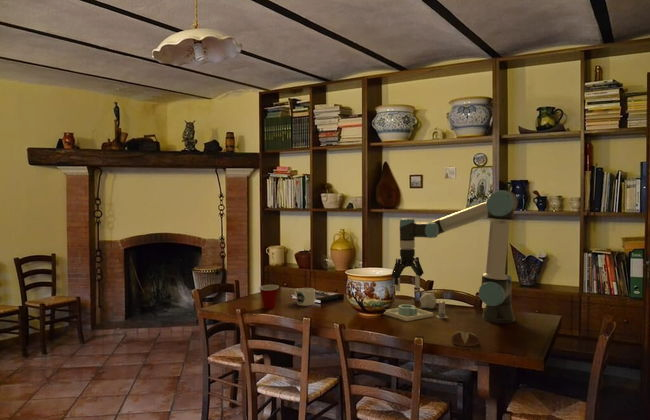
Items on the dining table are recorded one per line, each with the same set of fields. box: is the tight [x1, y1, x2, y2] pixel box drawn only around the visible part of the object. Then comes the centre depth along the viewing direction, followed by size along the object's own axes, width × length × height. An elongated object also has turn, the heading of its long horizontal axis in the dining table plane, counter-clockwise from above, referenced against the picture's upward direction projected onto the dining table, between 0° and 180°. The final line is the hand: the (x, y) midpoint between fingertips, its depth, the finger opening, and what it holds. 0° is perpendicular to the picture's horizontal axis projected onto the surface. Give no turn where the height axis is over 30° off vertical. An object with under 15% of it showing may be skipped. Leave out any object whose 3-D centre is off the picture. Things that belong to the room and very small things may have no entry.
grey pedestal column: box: [435, 300, 448, 319], centre depth 261 cm, size 6×6×8 cm
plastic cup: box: [258, 284, 280, 310], centre depth 280 cm, size 11×11×12 cm
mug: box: [293, 287, 316, 307], centre depth 292 cm, size 13×10×8 cm
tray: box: [383, 307, 434, 322], centre depth 265 cm, size 18×18×2 cm
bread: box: [451, 329, 480, 347], centre depth 218 cm, size 11×11×5 cm
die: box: [419, 292, 438, 309], centre depth 282 cm, size 8×9×10 cm
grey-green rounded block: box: [397, 303, 418, 316], centre depth 264 cm, size 11×8×4 cm
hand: (407, 289), depth 265 cm, fingers open, 13 cm apart
